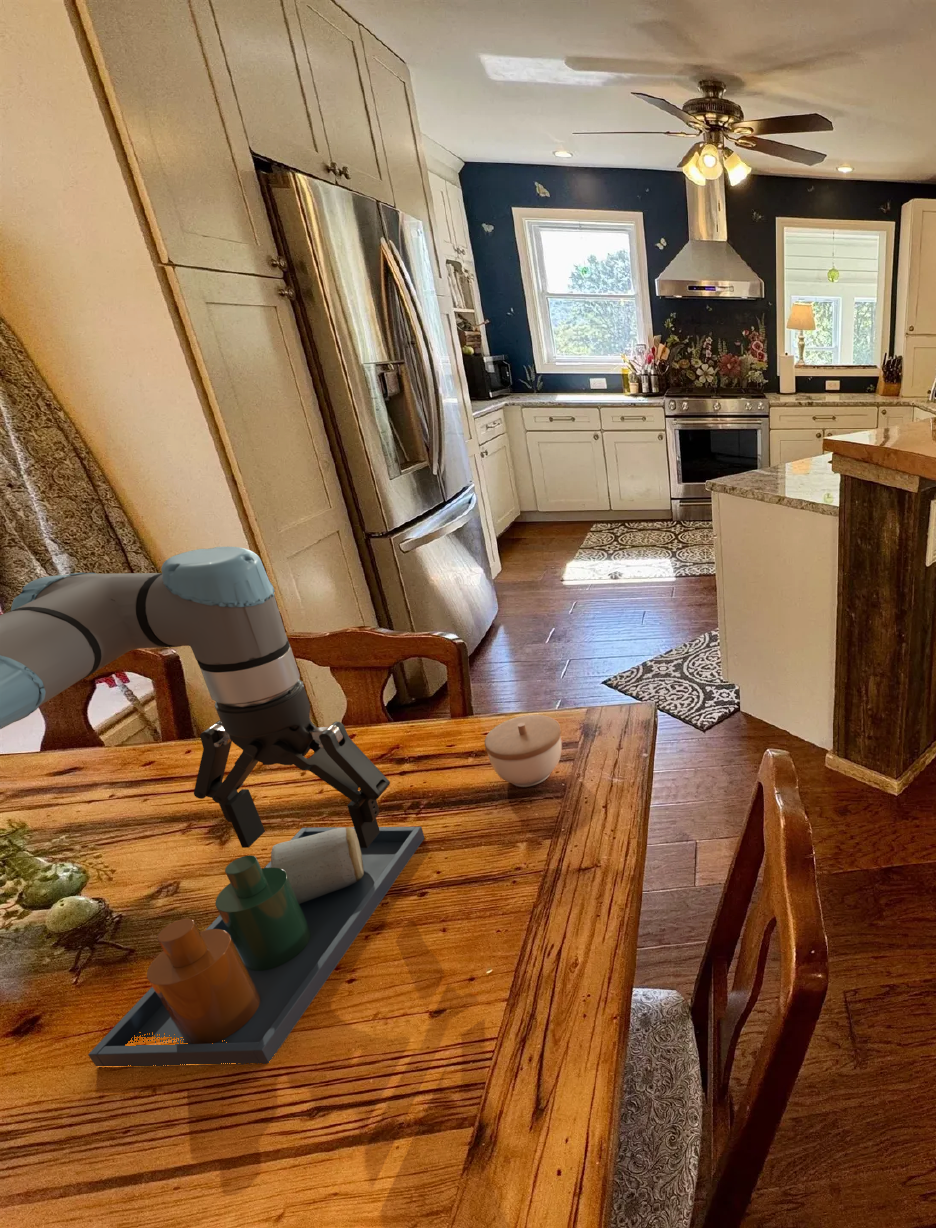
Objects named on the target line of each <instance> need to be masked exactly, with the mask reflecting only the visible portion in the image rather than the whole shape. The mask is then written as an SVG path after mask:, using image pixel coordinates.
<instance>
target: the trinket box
mask: <svg viewBox="0 0 936 1228" xmlns="http://www.w3.org/2000/svg"><path fill="white" fill-rule="evenodd" d="M484 748H485V750H486V753H487V757H488V759H489V762H490V765H491V767H492V769H493V770H494V772H495V774H497V776H498V777H500V779H502V780H504V781H505V782H507V783H509V784H512V785H514V786H516V787H521V788H527V787H533V786H536V785H539V784H541V783H543V782H544V781H546V779H548V778H549V777H550V776H551V774H552V773H553V772H554V770H555V769H556V768H557V766H558V765H559V762H560V760H561V758H562V750H563V741H562V730H561V724H560V723H559V722H558V720H556V719H555V718H553V717H551V716H549V715H544V714H525V715H519V716H516V717H512V718H510V719H507V720H504V721H502V722H500V723H498V724H497V725H495V726H494V727H493V728H492V729H490V731H489V732H487V734H486V736H485V738H484Z"/></svg>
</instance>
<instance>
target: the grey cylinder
mask: <svg viewBox="0 0 936 1228" xmlns="http://www.w3.org/2000/svg"><path fill="white" fill-rule="evenodd" d="M343 827H344V828H337V829H332V830H329V831H325V832H322V833H318V834H314V835H310V836H306V837H302V838H298V839H294V840H291V839H290V840H286V841H283V842H278V843H276V844H274V845H272V848H271V852H270V861H271V867H275V868H280V869H282V870H284V871H285V872H286V873H287V876H288V878H289V880H290V883H291V885H292V888H293V890H294V892H295V895H296V897H297V899H298V902H299V904H300V903H303V902H306V901H309V900H312V899H314V898H317V897H320V896H322V895H325V894H328V893H331V892H334V891H336V890H339V889H342V888H345V887H347V886H350V885H352V884H354V883H356V882H357V881H359V880H360V879H361V878H362V876H363V875H364V869H363V860H362V855H361V850H360V845H359V841H358V838H357V834H356V832H355V830H354V829H353V828H351V827H352V826H343Z"/></svg>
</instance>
